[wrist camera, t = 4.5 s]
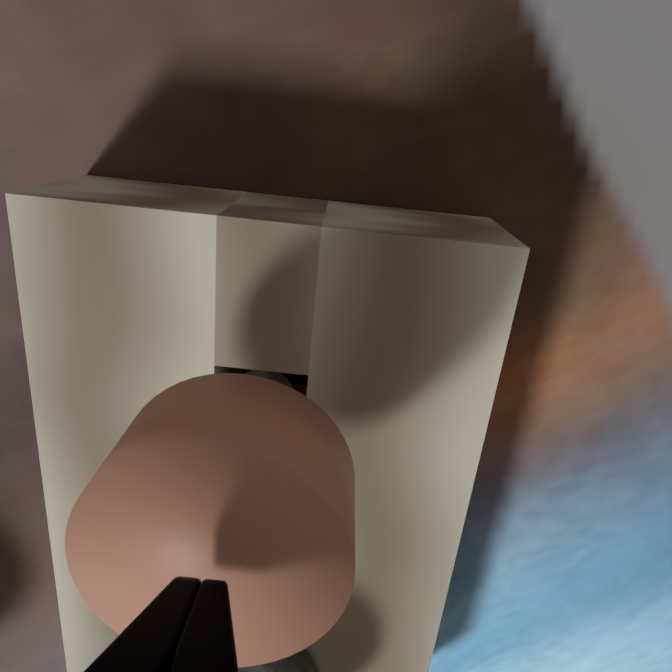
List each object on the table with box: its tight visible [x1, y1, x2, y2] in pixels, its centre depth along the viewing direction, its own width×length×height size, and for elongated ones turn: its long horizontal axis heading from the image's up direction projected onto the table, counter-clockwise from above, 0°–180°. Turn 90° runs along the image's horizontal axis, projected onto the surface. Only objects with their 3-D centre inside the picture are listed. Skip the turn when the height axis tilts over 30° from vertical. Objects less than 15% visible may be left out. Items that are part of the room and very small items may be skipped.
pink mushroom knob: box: [65, 370, 355, 668], centre depth 12 cm, size 5×5×6 cm
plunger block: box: [5, 175, 530, 672], centre depth 18 cm, size 12×20×4 cm, turn 174°
